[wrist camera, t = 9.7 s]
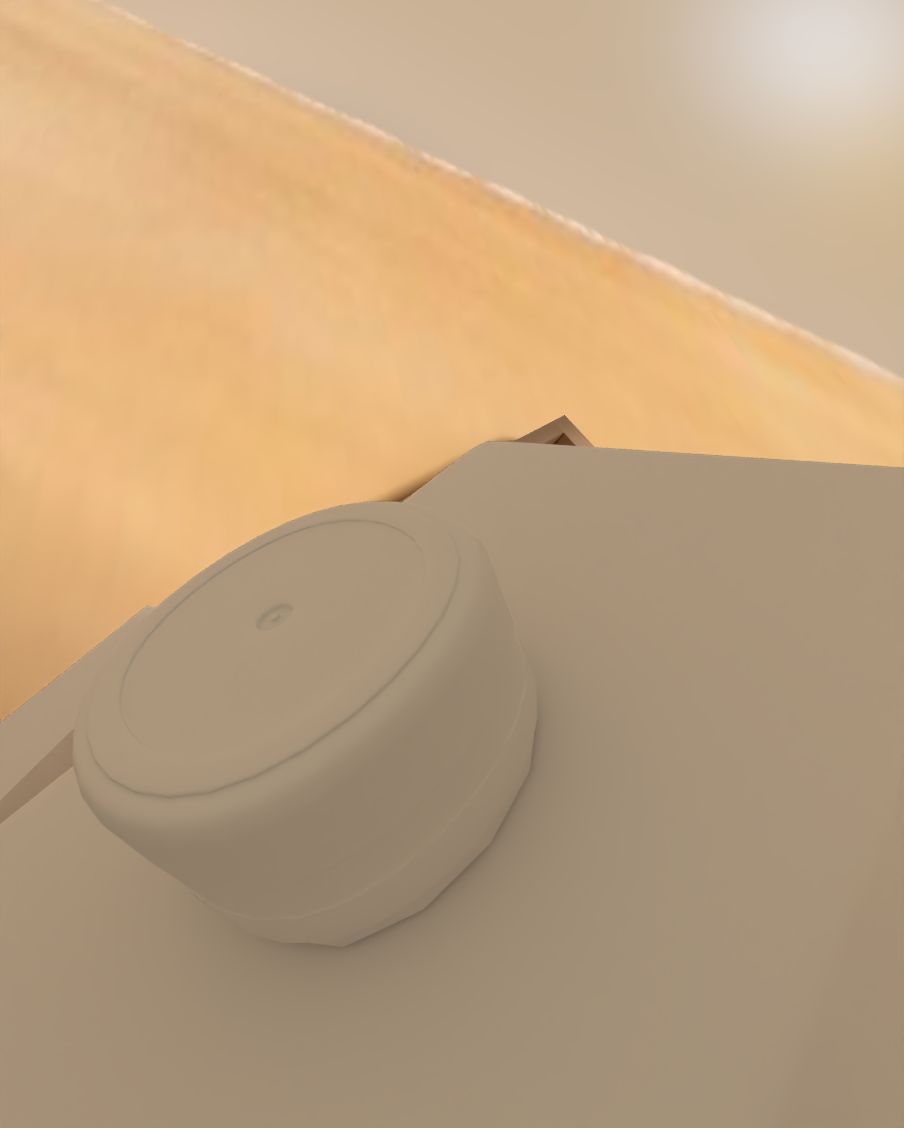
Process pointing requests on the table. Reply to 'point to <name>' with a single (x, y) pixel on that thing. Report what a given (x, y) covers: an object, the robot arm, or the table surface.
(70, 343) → the table surface
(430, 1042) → the milk carton
